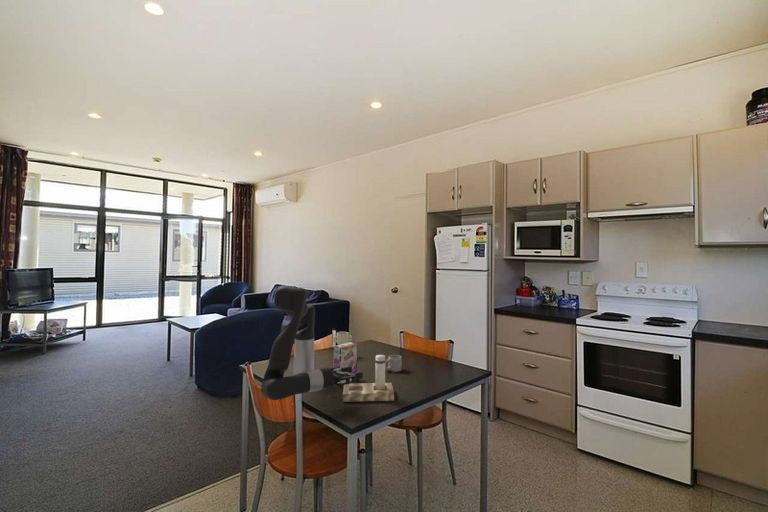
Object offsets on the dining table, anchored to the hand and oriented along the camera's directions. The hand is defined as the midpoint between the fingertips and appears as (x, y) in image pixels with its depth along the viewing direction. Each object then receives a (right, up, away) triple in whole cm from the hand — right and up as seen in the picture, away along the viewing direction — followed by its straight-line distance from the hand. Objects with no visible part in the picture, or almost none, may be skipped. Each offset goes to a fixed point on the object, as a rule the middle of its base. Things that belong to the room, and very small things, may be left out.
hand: (356, 371), depth 143 cm
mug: (+15, -12, +39) cm, 44 cm away
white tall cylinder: (+9, -11, +6) cm, 16 cm away
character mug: (-13, -12, +67) cm, 69 cm away
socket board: (+4, -11, +6) cm, 13 cm away
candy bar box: (-7, -12, +24) cm, 28 cm away
